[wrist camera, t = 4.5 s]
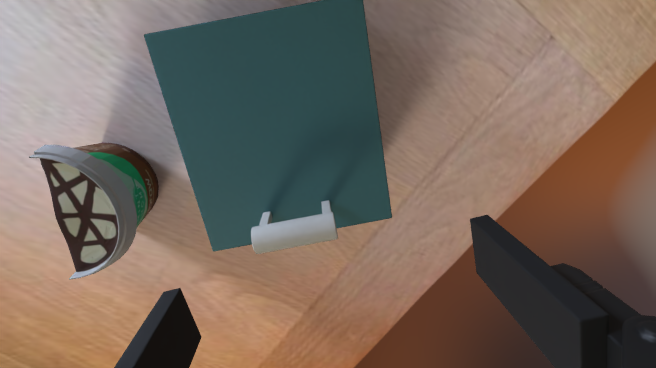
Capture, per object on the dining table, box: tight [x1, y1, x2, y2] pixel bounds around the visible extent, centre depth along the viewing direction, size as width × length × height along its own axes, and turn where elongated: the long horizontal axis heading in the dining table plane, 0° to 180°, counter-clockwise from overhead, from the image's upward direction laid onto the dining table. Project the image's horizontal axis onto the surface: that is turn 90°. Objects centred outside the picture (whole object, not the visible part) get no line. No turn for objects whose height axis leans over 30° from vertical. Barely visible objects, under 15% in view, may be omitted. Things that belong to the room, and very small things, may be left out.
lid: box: [144, 0, 392, 254], centre depth 26 cm, size 18×16×6 cm
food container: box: [29, 143, 158, 280], centre depth 35 cm, size 12×6×10 cm, turn 3°
